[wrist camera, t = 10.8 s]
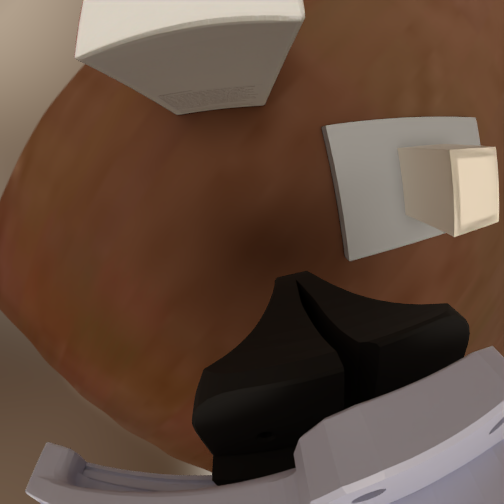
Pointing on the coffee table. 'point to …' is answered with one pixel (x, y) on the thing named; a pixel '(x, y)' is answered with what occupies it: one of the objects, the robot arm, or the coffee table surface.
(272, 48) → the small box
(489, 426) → the robot arm
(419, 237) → the base board
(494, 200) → the beige cardboard cube
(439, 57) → the coffee table surface
